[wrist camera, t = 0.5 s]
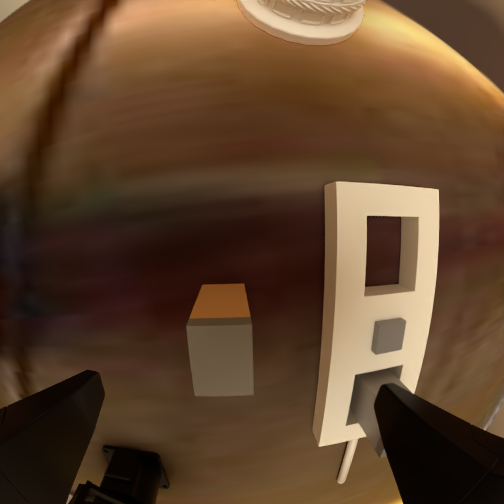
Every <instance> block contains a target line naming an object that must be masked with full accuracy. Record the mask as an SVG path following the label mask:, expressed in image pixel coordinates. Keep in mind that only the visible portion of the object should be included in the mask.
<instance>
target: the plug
mask: <svg viewBox="0 0 504 504" xmlns="http://www.w3.org/2000/svg"><path fill="white" fill-rule="evenodd" d="M186 329H187V339H188V348H189V356H190V364H191V372H192V380H193V387H194V394H195V396H242V395H254V383H253V343H252V321H251V316H250V311H249V306H248V301H247V296H246V291H245V285H244V283H241V284H208V285H202V287H201V290H200V292H199V295H198V297H197V300H196V302H195V305H194V307H193V310H192V312H191V315H190V317H189V320H188V322H187V325H186Z"/></svg>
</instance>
